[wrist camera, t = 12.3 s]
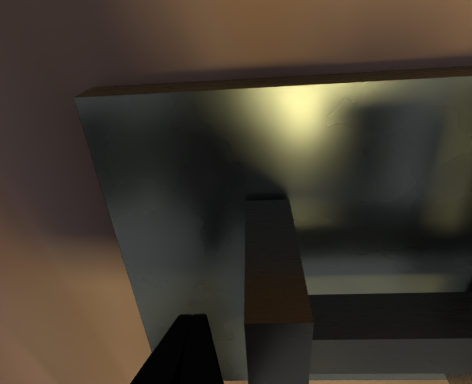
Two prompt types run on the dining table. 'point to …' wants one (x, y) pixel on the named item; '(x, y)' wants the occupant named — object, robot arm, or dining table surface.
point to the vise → (286, 188)
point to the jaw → (340, 317)
